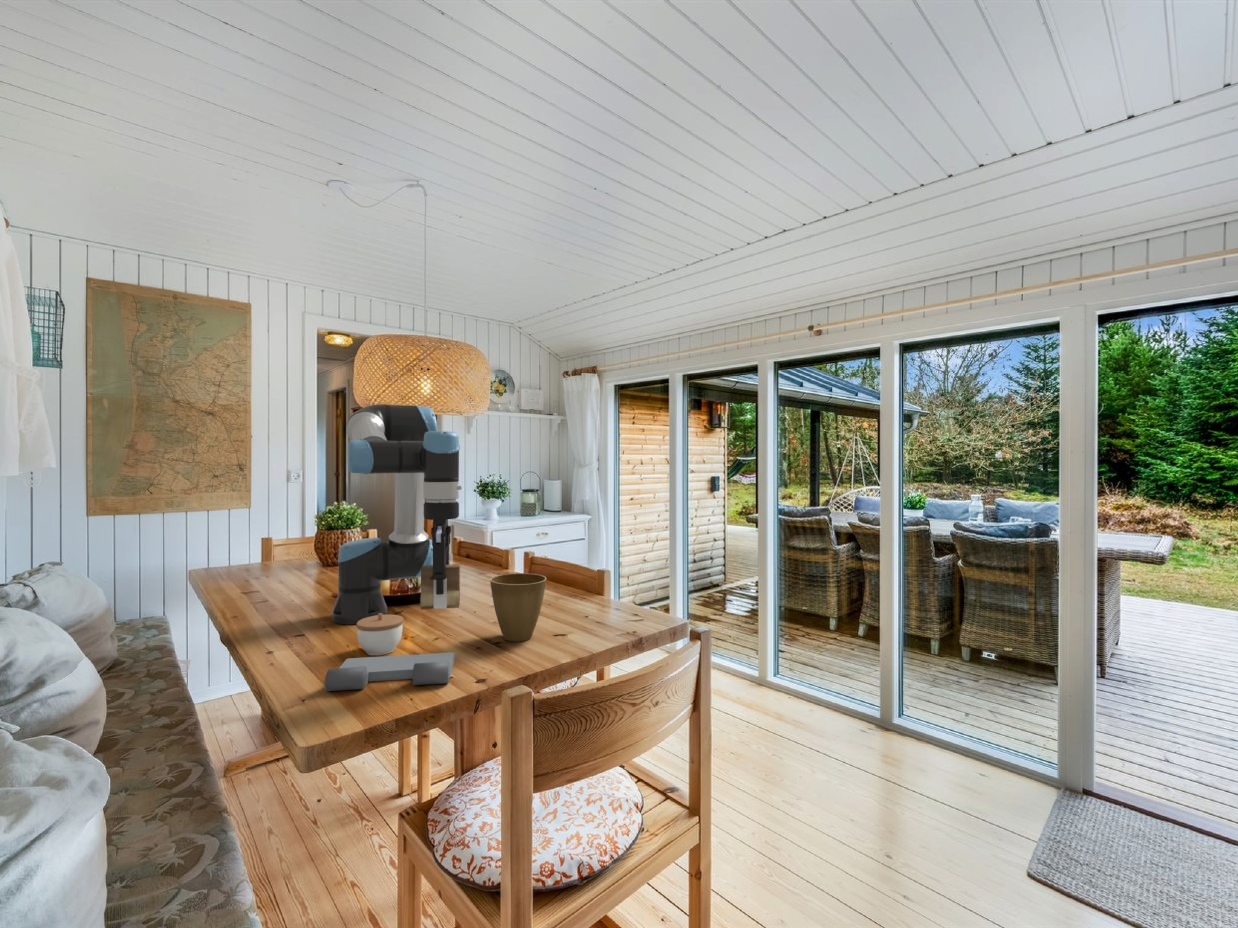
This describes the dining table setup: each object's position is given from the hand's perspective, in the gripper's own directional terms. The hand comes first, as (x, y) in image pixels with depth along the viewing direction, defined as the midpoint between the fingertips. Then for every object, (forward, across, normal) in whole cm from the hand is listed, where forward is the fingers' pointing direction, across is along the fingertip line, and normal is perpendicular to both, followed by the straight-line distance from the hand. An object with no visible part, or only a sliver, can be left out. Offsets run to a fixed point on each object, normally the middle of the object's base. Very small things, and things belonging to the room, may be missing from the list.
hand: (441, 605), depth 124 cm
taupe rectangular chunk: (0, 0, 0) cm, 0 cm away
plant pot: (+16, +23, -18) cm, 33 cm away
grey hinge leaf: (+15, +1, +10) cm, 18 cm away
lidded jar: (+16, +19, +16) cm, 29 cm away
